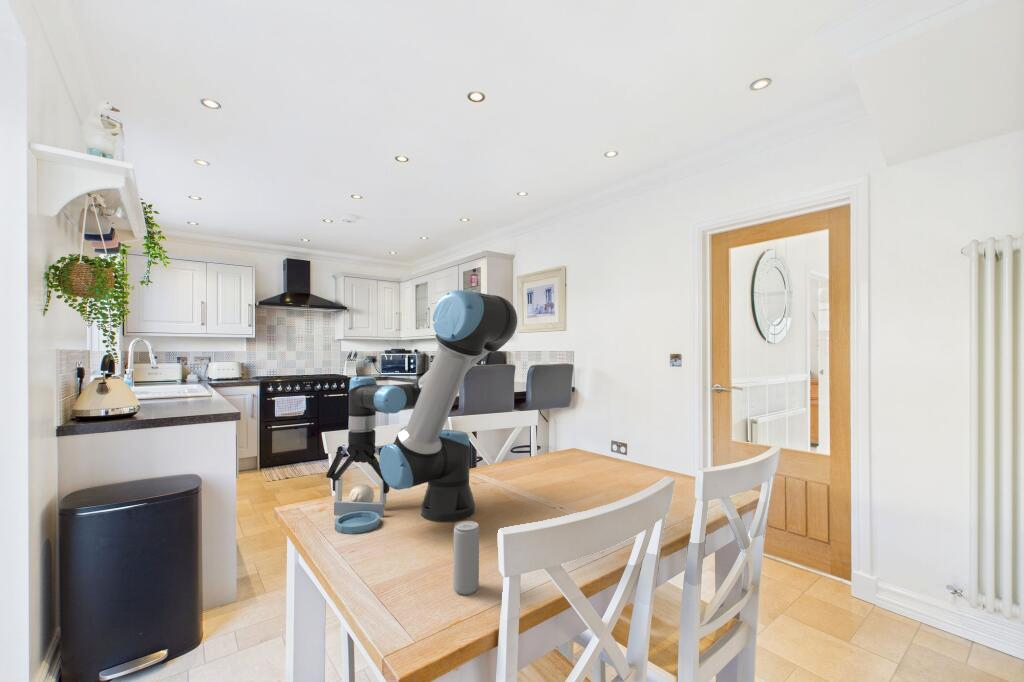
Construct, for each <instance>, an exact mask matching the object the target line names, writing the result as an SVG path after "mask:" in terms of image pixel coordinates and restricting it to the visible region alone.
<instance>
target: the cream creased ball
mask: <svg viewBox="0 0 1024 682" xmlns="http://www.w3.org/2000/svg"><path fill="white" fill-rule="evenodd" d="M347 498H348V502H368V503H374V499H375V492H374V490H373V488H372V487H371V486H370V485H368V484H358V485H355V486H354V487H353V488H352V489H351V491H350V492H349V495H348V497H347Z"/></svg>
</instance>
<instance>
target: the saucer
mask: <svg viewBox="0 0 1024 682" xmlns="http://www.w3.org/2000/svg"><path fill="white" fill-rule="evenodd" d="M380 523H381V517H380V516H379V514H378V513H375V512H372V511H358V512H350V513H347V514H344V515H338V517H336V518H334V530H335V532H337V533H340V534H343V535H345V534H346V535H355V534H356V535H357V534H363V533H367V532H370V531H373V530H375V529H376V528H378V527H379V525H380Z"/></svg>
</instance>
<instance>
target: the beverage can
mask: <svg viewBox="0 0 1024 682" xmlns="http://www.w3.org/2000/svg"><path fill="white" fill-rule="evenodd" d="M452 566H453V571H452V572H453V573H452V574H453V581H452V582H453V583H452V585H453V586H452V587H453V590H454V591H455V593H457V594H459V595H464V596H468V595H472V594H474V593H476V591H477V590H478V589H479V587H480V584H479V583H480V579H479V578H480V527H479V523H477V522H476V521H472V520H464V521H463V520H461V521H459V522H458V521H457V522H456V523H454V528H453V565H452Z"/></svg>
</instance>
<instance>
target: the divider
mask: <svg viewBox="0 0 1024 682" xmlns="http://www.w3.org/2000/svg"><path fill="white" fill-rule="evenodd" d="M333 504H334V505H333V515H334V516H341V515H344V514H347V513H350V512H358V511H372V512H375V513H378V514H379V516H380V518H383V517H385V515H384V514H385V504H384V503H380V502H372V503H368V502H349V501H343V500H342V501H335V500H334V502H333Z"/></svg>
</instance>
